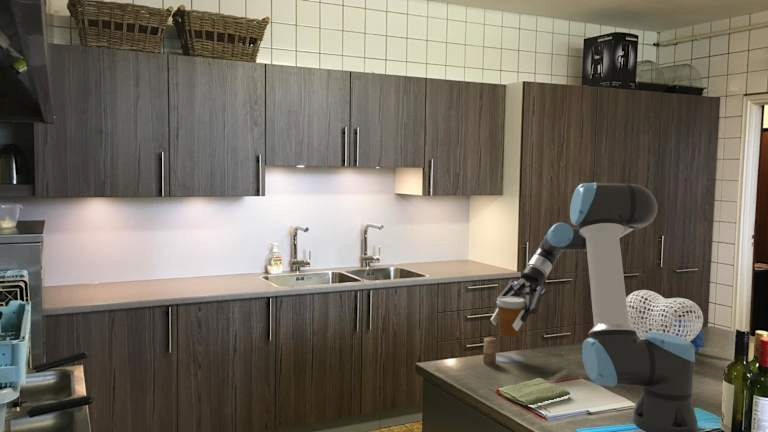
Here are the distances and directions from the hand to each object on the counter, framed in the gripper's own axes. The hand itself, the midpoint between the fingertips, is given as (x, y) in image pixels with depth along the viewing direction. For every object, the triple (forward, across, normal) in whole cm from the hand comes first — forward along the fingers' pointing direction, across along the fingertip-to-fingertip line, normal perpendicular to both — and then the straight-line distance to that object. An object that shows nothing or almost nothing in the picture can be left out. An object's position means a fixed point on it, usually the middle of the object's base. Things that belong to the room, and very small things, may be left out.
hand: (503, 325), depth 214 cm
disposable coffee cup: (0, 0, -5) cm, 5 cm away
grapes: (-37, -30, -56) cm, 73 cm away
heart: (-26, -27, -45) cm, 59 cm away
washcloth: (+21, -25, +2) cm, 32 cm away
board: (+8, -2, -10) cm, 13 cm away
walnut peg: (+13, 0, -4) cm, 13 cm away
